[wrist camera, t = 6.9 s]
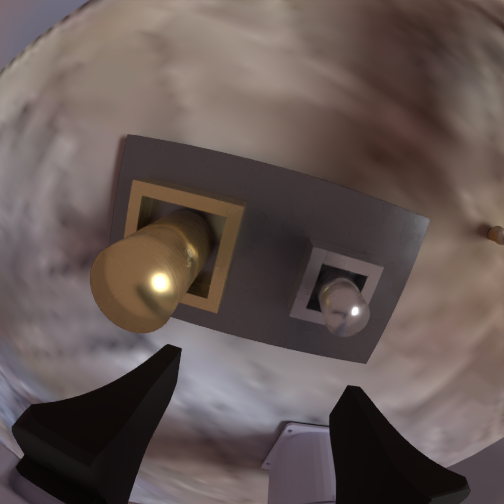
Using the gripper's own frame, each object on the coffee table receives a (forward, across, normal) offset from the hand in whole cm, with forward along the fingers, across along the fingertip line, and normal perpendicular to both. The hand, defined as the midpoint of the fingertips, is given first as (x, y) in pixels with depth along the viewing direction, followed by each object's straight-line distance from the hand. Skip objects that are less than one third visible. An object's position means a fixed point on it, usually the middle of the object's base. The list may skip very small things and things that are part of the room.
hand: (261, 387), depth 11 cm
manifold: (+10, +1, -2) cm, 10 cm away
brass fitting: (+9, +6, -2) cm, 11 cm away
